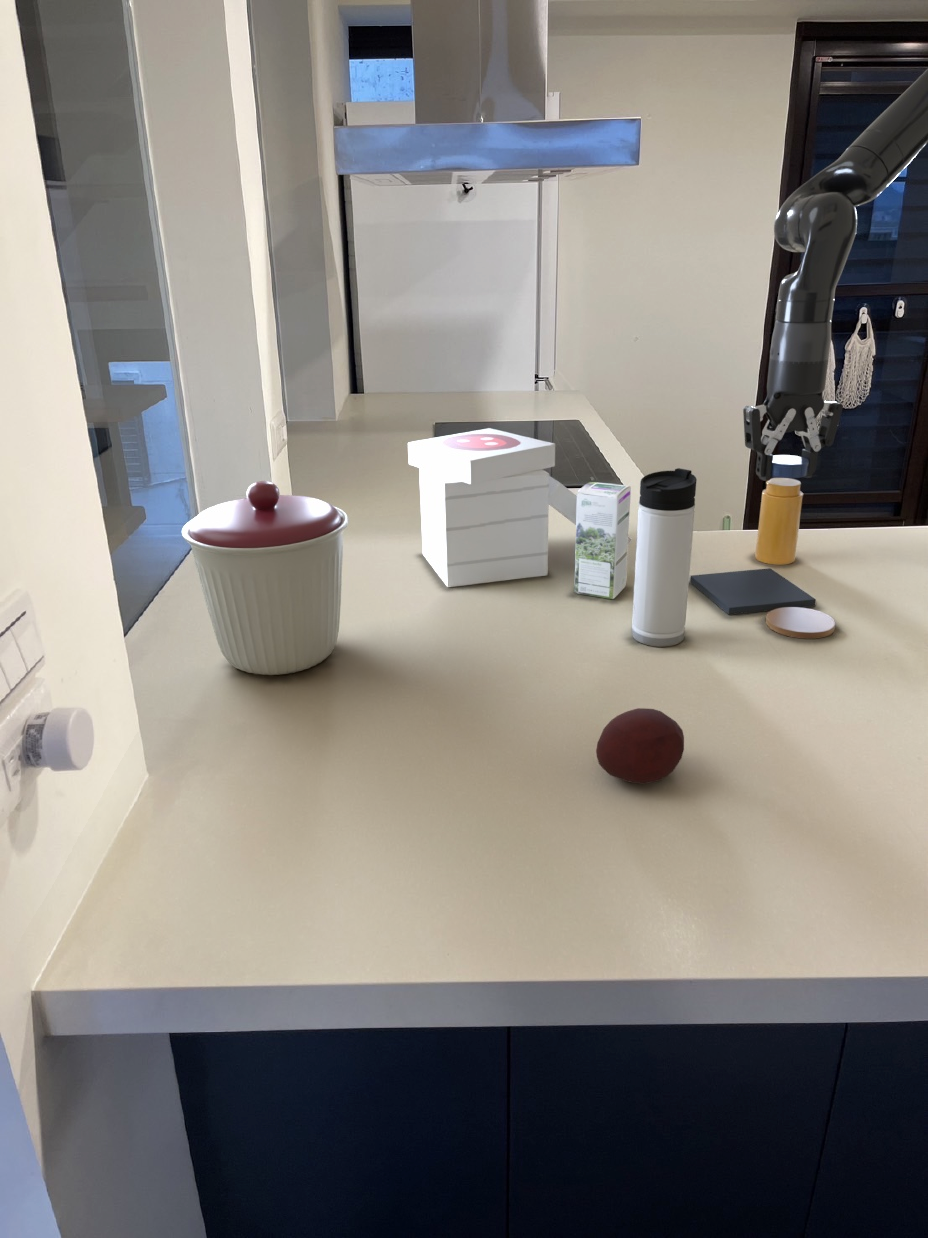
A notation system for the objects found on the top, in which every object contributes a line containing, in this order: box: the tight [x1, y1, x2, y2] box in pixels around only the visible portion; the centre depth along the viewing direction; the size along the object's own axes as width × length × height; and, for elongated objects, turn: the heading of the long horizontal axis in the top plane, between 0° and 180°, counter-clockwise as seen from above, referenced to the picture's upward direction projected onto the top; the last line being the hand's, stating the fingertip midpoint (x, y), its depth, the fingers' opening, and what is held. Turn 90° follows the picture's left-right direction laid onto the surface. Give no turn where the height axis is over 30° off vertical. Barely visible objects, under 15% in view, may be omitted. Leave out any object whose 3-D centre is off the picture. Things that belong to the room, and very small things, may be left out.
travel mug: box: [631, 467, 697, 648], centre depth 106 cm, size 6×7×20 cm
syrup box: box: [574, 481, 632, 600], centre depth 121 cm, size 6×6×14 cm
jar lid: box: [771, 454, 809, 479], centre depth 128 cm, size 6×6×2 cm
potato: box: [595, 707, 685, 785], centre depth 81 cm, size 7×8×6 cm
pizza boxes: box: [407, 427, 633, 588], centre depth 132 cm, size 19×30×18 cm, turn 106°
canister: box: [181, 480, 350, 676], centre depth 103 cm, size 18×18×21 cm
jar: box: [754, 477, 804, 566], centre depth 132 cm, size 6×6×12 cm
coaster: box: [765, 607, 836, 640], centre depth 112 cm, size 8×8×1 cm
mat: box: [689, 567, 817, 616], centre depth 121 cm, size 12×12×1 cm
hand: (785, 477), depth 129 cm, fingers closed on jar lid, 5 cm apart
